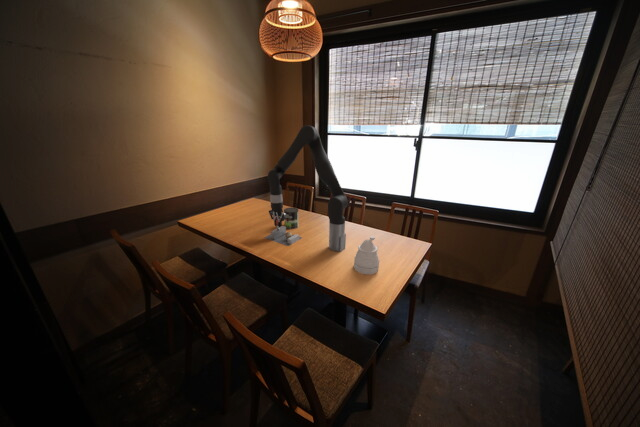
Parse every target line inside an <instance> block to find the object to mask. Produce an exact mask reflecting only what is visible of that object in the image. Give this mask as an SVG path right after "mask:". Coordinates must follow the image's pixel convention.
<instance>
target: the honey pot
mask: <svg viewBox="0 0 640 427" xmlns="http://www.w3.org/2000/svg"><path fill="white" fill-rule="evenodd" d="M375 239H376V237H375V235H369V238H366V239H364V240H363V242H361V243H360V244H359V245H358V247H357V249H358V250H357V251H356V254H355V256H354V261H353V268H354V270H355V271H356V272H357V273H359V274H362V275H374V274H376V273H378V271H379V268H380V258H379V254H378V250H379V249H378V248H379V247H377V245H375V244H374V243H373V242H374V240H375Z"/></svg>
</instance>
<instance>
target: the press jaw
mask: <svg viewBox="0 0 640 427" xmlns="http://www.w3.org/2000/svg"><path fill="white" fill-rule="evenodd" d="M276 225H277V226H276V228H274V229H273V230H271V231H270V234H271V239H274V240H275V239H277V238H279V237H281V236H282V235H284V234H286V233H287V228H286V227H285V225H282V226H281V227H279V226H278V219H276Z"/></svg>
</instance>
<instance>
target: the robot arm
mask: <svg viewBox="0 0 640 427" xmlns="http://www.w3.org/2000/svg"><path fill="white" fill-rule="evenodd" d="M306 145H307V146H308V148H309V150H310V152H311V154H312V159H313V166H314V170H315V171H316V173H317V176H318V178H319V179H320V181H321V182H323V183H324V185H326V186H325V187H327V188H328V189H329V192H330V193H331V195H332V197H330V198H329V200H328V202H327V214H328V215H327V216H328V220H329V221H328V223H329V229H328V230H329V231H328V232H329V234H328V235H329V236H328V248H329V250H331V251H332V252H342V251H344V250H345V249H346V241H347V234H346V232H345V231H346V217H345V216H344V215H343V210H345V209H346V208H347V207H348V206H349V200H348V198H347V195H346V193H345V192H344V190H343V189H342V186H341V184H340V182H339V180H338V178H337V176H336V173H335V170H334V168H333V165H332V163H331V161H330V159H329V157H328V155H327V153H326V151H325V149H324V146H323V143H322V139H321V137H320V133H319V131H318V129H317V128H316V127H314V126H312V125H309V124H306V125H303V126H302V127H301V128H300V130H299V131H298V133H297V134H296V136H295V138H294V139H293V141H292V143H291V144H290V146H289V148H287V150H286V151H285V153H284V154H283V155H282V156H281V158H280V159H279V160H278V161H277V164H275V166H274V167H273V168H272V169H271V170H269V172H268V173H267V182H268V185H269V192H270V194H269V196H270V197H269V198H270V199H269V200H270V209H269V210H268V213H269V216H270V219H271V220H273V223H274V226H275V227H277V225H276V219H278V226H279V227H281V226H283V222H285V217H286V213H284V209H283V208H284V201H283V198H284V197H283V191H282V189H283V188H282V185H281V184H280V179H281V178H282V177H283V176H284V174H285V173H286V172H287V170H288V169H290V167H291V166H292V165H293V163H294V162H295V161H296V159H297V157H298V155H299V153H300V152H301V150H302V149H303V148H304V147H305V146H306Z"/></svg>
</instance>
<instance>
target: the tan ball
mask: <svg viewBox="0 0 640 427" xmlns="http://www.w3.org/2000/svg"><path fill="white" fill-rule="evenodd" d="M292 235H293V233H292V232H290V231H286V237H287V238H290V237H291V236H292Z"/></svg>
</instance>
